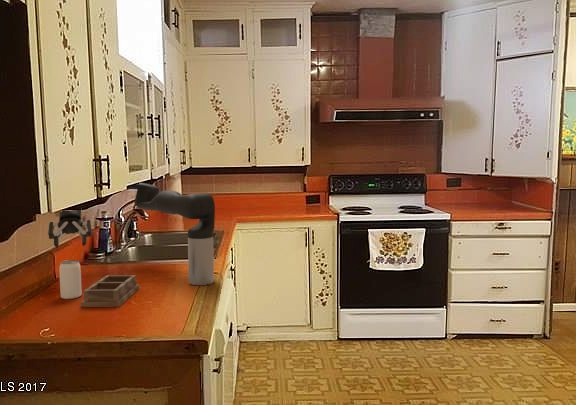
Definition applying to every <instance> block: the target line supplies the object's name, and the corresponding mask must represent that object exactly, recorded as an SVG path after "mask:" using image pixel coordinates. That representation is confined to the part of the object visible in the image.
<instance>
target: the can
mask: <svg viewBox="0 0 576 405" xmlns="http://www.w3.org/2000/svg"><path fill="white" fill-rule="evenodd" d="M58 270H59V289H60V290H59V291H60V298H61V299H63V300H73V299H78V298H80V297H81V296H82V294H83V293H82V292H83V291H82V271H81V264H80V261H79V260H78V259H67V260H63V261H60V265H59V269H58Z"/></svg>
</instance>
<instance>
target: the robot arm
mask: <svg viewBox="0 0 576 405" xmlns="http://www.w3.org/2000/svg"><path fill="white" fill-rule="evenodd" d="M132 189H133V190H137V191H136V193H135V197H134V198H135V199H134V205H135V207H137V208H138V209H141V210H146V211H154V212H155V211H156V212H161V213H164V214H168V215H179V216H181V217H183V218H186V219H189V220H199V221H198V222H197V223H196V224H195V225H194V226H192V227H190V228H189V229H188V230H187V254H188V255H187V256H188V257H187V258H188V259H187V260H188V261H187V262H188V284H189V285H192V286H206V285H207V284H208V285H211V284H213V283H215V263H214V261H215V260H214V259H215V258H214V230H215V220H216V219H215V218H216V217H215V216H216V215H215V214H216V211H215V210H216V205H215V199H214V197H213V196H212V194H210V193H205V192H203V193H191V194H184V195H183V194H182V193H180V192H179V191H176V190H170V189H169V190H162V191H160V190H161V189H160V187H158V186H157V185H154V184H150V183H144V182H139V184H136V185H133V186H130V187H129V188H128V189H127V190H132ZM58 212H59V211H58ZM58 215H59V216H58V217H59V218H58V223H57V222H56V223H54V222H53V221H50V222H49V225H48V232H47V235H48V239H49V240H53V247H56V249H59V247H60V245H59V243H60V241H59V239H60V238H61V237H63V236H64V235H69V234H78V235H79V236H80V237H81V239H82V240H81V241H82V242H81V243H82V246H81V247H85V246H86V245H87V242H88V240H87V238H88V237H92V235H93V234H92V233H93V232H92V223H91V220H90V219H87V220H86V221H82V209H81V210H73V211H62V212H59V214H58ZM83 226H84V228H86V229H87V231H85V230H84V229H83ZM56 228H58V229H57V231H56V232H54V230H56ZM208 285H207V286H208Z"/></svg>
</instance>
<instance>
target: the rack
mask: <svg viewBox="0 0 576 405" xmlns="http://www.w3.org/2000/svg"><path fill="white" fill-rule="evenodd" d="M138 290H140V284H139V283H138V284H137V275H136V274H133V275H132V274H131V275H129V274H125V275H124V274H123V275H122V274H121V275H119V274H118V275H116V274H115V275H109V274H108V275H105V276H103V277H102V278H101V279H99V280H98V281H96V282H94V283H93V284H91V285H90V286H89V287H87V288H86V289H84V290H83V300H82V301H80V307H81V308H98V307H99V308H102V307H104V308H109V307H112V308H113V307H114V308H116V307H117V308H118V307H119V308H120V307H121V306H122V305H123V304H124V303H125V302H126V301H128V299H130V297H132V296H133V295H134V294H135V293H136V292H138Z"/></svg>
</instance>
